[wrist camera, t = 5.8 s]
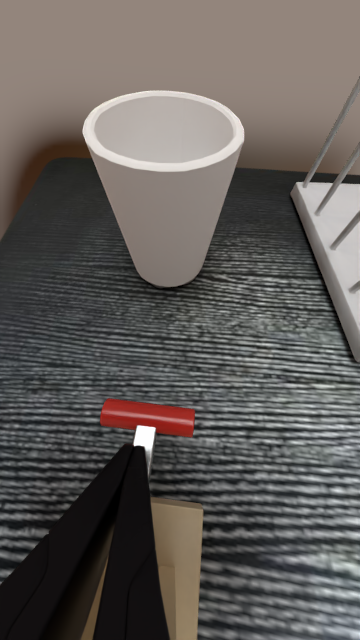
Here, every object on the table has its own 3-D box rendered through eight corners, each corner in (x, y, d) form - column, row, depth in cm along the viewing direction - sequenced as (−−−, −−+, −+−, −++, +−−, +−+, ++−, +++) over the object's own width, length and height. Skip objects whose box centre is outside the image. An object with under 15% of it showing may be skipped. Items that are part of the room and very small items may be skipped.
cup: (110, 286, 23) (46, 147, 11) (144, 226, 27) (121, 81, 15) (199, 311, 22) (229, 185, 10) (219, 244, 26) (255, 103, 14)
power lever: (113, 402, 13) (103, 393, 11) (192, 412, 13) (196, 405, 11) (6, 802, 7) (-65, 952, 5) (162, 829, 7) (158, 996, 5)
